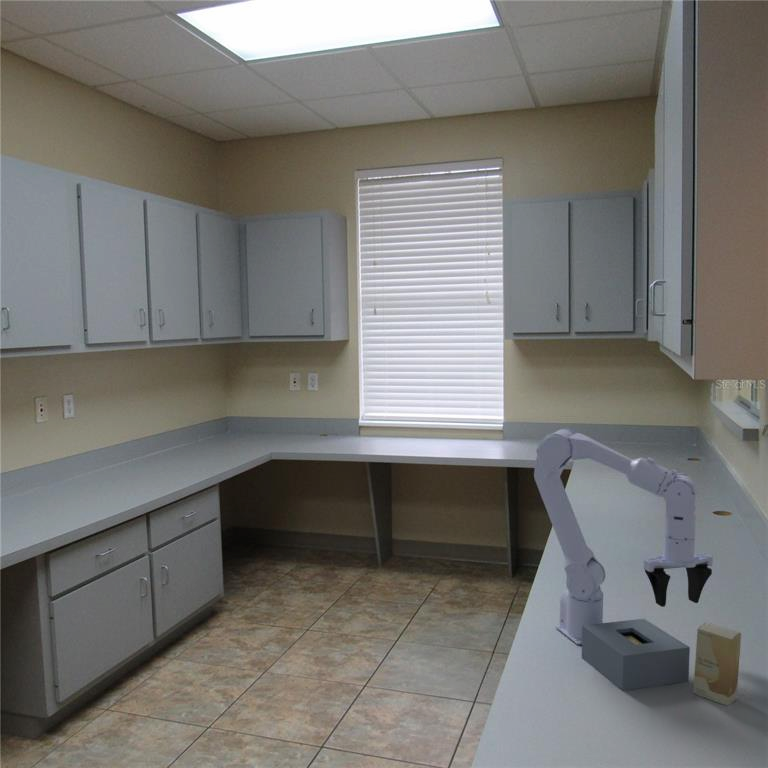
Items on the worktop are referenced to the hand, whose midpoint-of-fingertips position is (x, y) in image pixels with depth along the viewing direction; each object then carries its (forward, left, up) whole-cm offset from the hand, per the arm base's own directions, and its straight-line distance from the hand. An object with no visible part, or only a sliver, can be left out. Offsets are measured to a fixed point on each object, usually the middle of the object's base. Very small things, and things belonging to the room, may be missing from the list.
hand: (677, 603), depth 147 cm
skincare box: (+17, -4, -11) cm, 20 cm away
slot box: (+4, -12, -10) cm, 16 cm away
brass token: (+4, -12, -10) cm, 16 cm away
